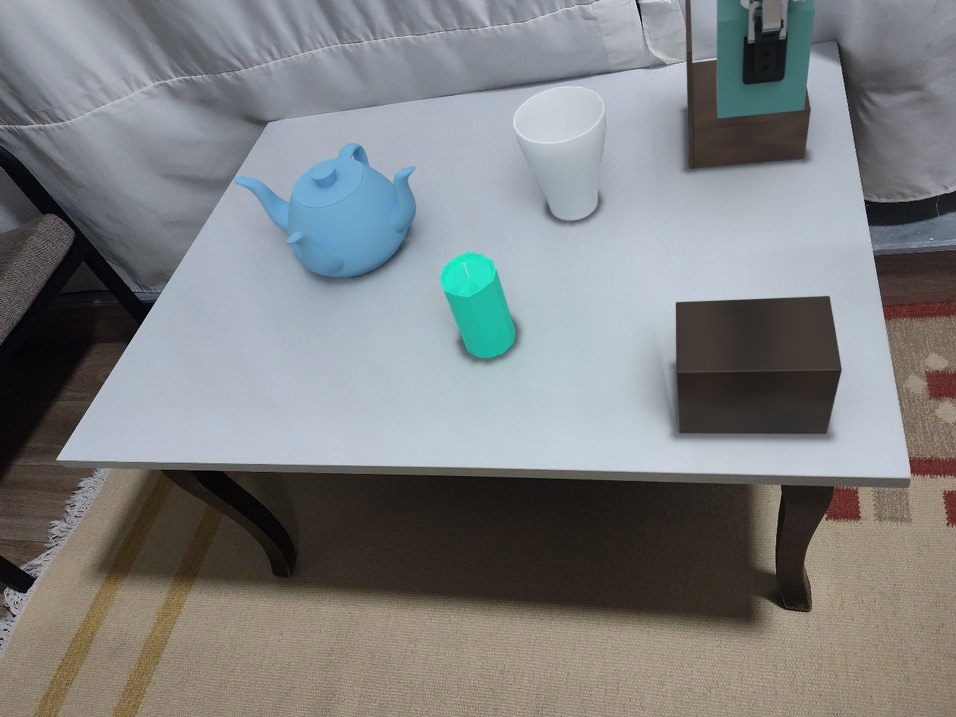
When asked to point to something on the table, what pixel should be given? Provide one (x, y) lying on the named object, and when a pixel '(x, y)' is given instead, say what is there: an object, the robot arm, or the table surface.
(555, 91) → the cup
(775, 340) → the dark brown box
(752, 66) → the robot arm
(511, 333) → the candle
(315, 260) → the teapot
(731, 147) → the shelf
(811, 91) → the table surface
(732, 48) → the block
